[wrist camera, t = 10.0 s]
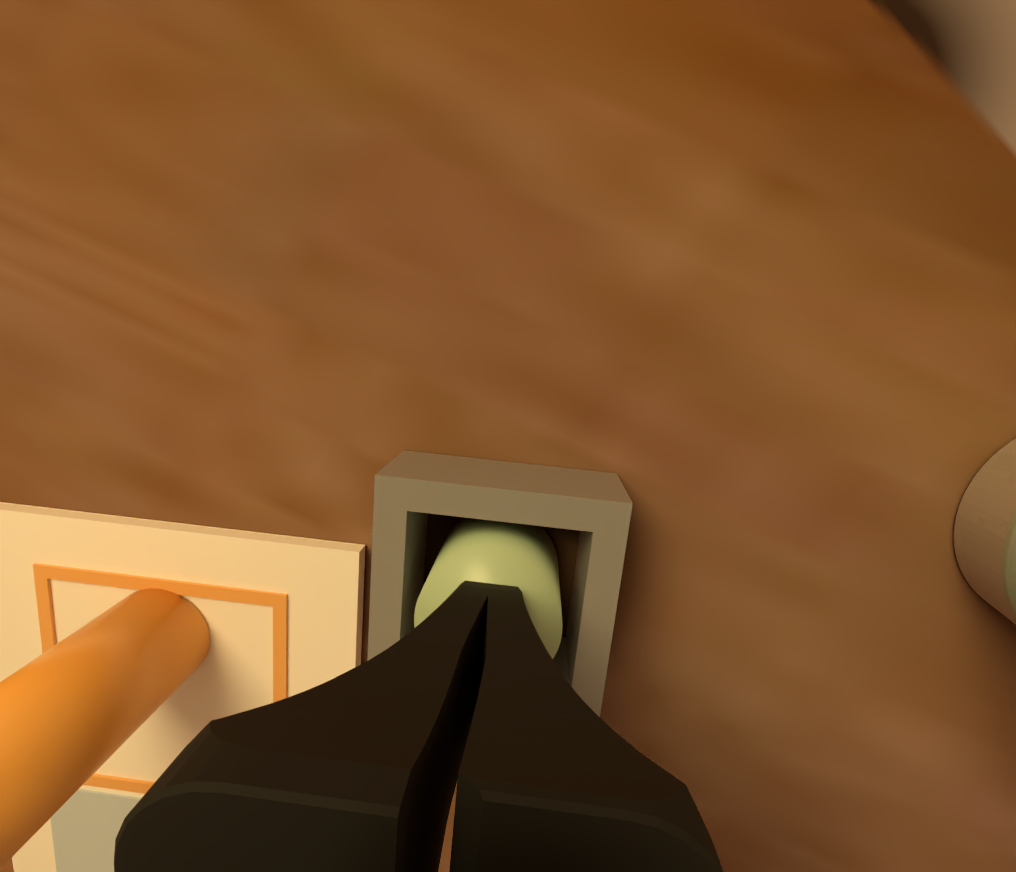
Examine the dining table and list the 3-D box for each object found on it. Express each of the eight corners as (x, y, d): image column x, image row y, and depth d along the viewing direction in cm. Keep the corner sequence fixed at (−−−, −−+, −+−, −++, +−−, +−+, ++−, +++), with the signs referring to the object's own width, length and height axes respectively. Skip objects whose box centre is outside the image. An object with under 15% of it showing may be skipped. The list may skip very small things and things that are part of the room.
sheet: (351, 912, 18) (344, 932, 17) (28, 863, 18) (12, 881, 18) (365, 544, 15) (357, 553, 14) (-19, 499, 15) (-41, 506, 15)
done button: (551, 625, 15) (553, 699, 12) (436, 611, 15) (410, 680, 12) (564, 516, 14) (570, 565, 11) (443, 502, 14) (418, 547, 11)
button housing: (589, 663, 15) (598, 727, 13) (393, 639, 15) (366, 697, 13) (616, 473, 14) (632, 503, 11) (403, 450, 14) (375, 474, 12)
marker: (214, 682, 16) (-68, 996, 8) (119, 670, 16) (-239, 970, 9) (208, 593, 15) (-108, 854, 8) (108, 581, 15) (-295, 828, 8)
